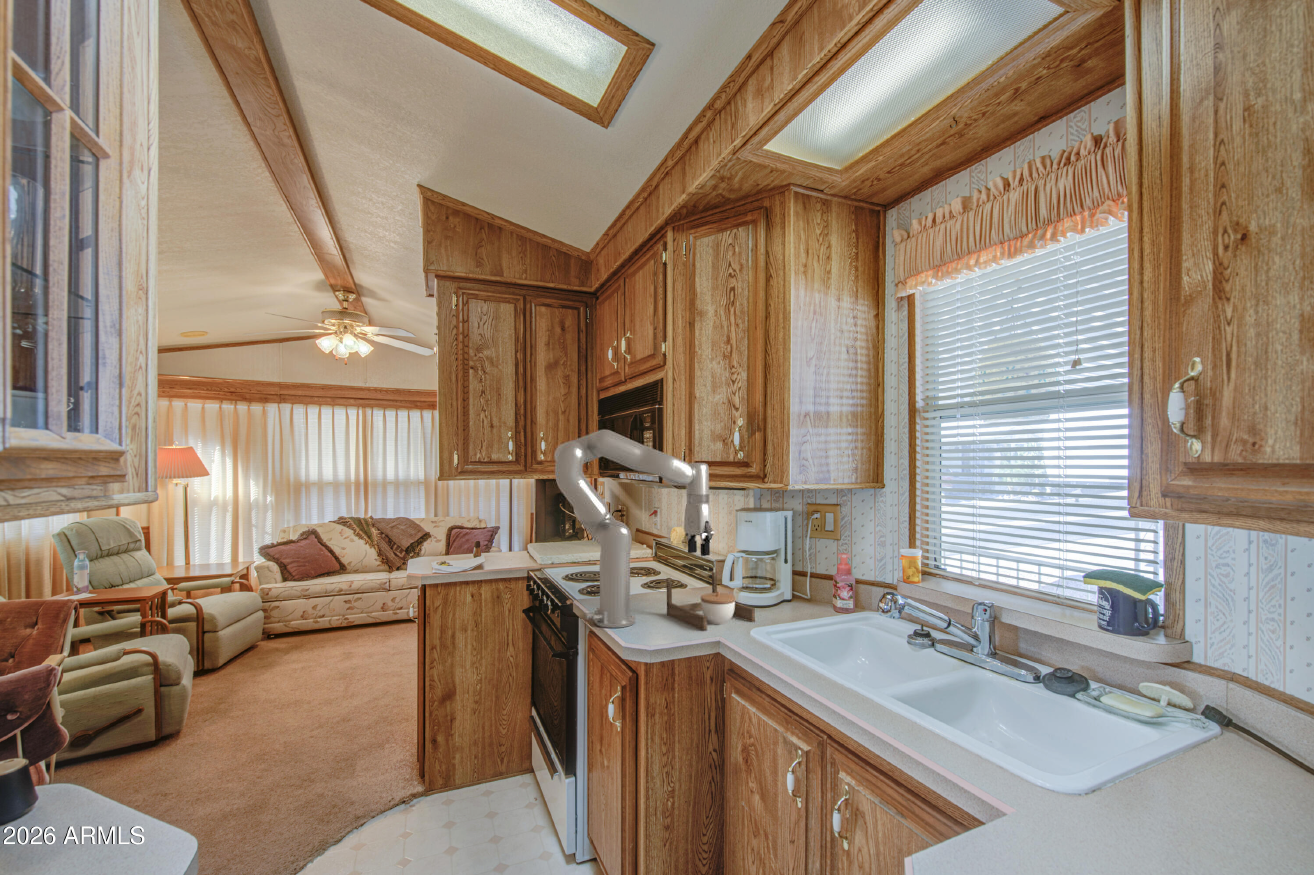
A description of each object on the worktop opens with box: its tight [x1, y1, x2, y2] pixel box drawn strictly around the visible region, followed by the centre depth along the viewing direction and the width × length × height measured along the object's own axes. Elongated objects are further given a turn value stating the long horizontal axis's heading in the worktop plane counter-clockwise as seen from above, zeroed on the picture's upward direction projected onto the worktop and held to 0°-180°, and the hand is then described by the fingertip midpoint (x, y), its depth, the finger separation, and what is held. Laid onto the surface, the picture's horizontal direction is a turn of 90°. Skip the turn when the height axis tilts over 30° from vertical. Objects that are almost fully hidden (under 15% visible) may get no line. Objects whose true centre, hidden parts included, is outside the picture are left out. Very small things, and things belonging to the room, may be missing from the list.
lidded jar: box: [700, 590, 736, 625], centre depth 174 cm, size 11×11×9 cm
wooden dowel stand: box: [666, 571, 756, 632], centre depth 178 cm, size 19×21×12 cm
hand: (698, 553), depth 184 cm, fingers open, 6 cm apart
